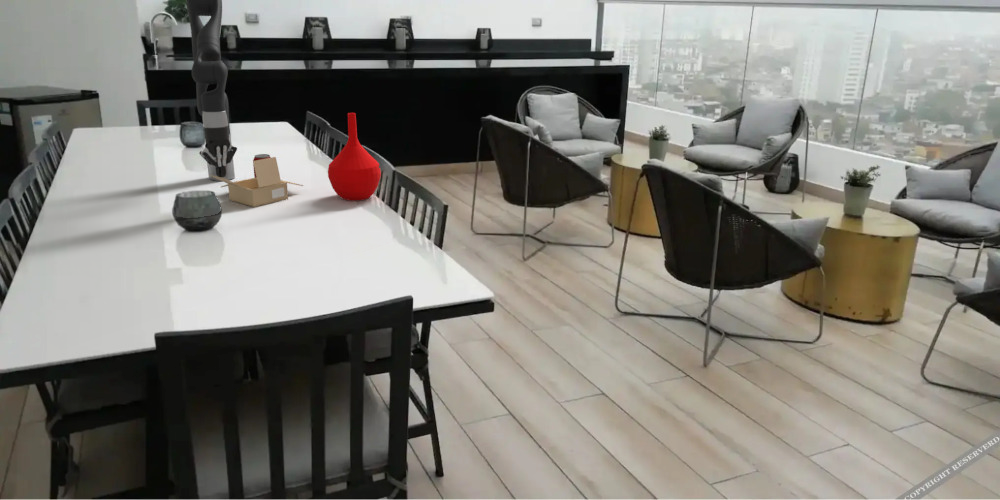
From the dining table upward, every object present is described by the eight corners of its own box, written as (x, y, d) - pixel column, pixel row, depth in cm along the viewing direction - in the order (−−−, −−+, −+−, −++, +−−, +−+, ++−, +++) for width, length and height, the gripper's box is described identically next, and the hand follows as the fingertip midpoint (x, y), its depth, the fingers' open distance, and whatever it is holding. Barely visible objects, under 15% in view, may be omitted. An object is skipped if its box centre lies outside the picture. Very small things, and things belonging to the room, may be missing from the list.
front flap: (252, 161, 246) (253, 161, 246) (275, 156, 253) (275, 156, 253) (258, 187, 248) (259, 187, 248) (280, 182, 255) (281, 182, 255)
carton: (214, 196, 261) (213, 179, 259) (268, 184, 278) (267, 168, 277) (254, 207, 248) (252, 190, 246) (308, 194, 266) (307, 178, 264)
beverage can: (268, 190, 270) (266, 157, 266) (252, 188, 271) (249, 156, 268) (277, 185, 276) (275, 154, 273) (261, 184, 278) (258, 153, 274)
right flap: (231, 184, 252) (230, 185, 252) (209, 174, 245) (209, 175, 245) (247, 188, 247) (246, 189, 247) (225, 178, 240) (225, 179, 240)
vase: (390, 193, 268) (387, 111, 258) (365, 206, 252) (362, 119, 242) (346, 189, 274) (342, 108, 264) (319, 201, 257) (313, 115, 248)
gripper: (226, 121, 245) (232, 172, 251) (190, 126, 235) (196, 179, 241) (240, 123, 241) (245, 175, 247) (203, 128, 231) (210, 182, 236)
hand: (221, 177), depth 244 cm, fingers closed
